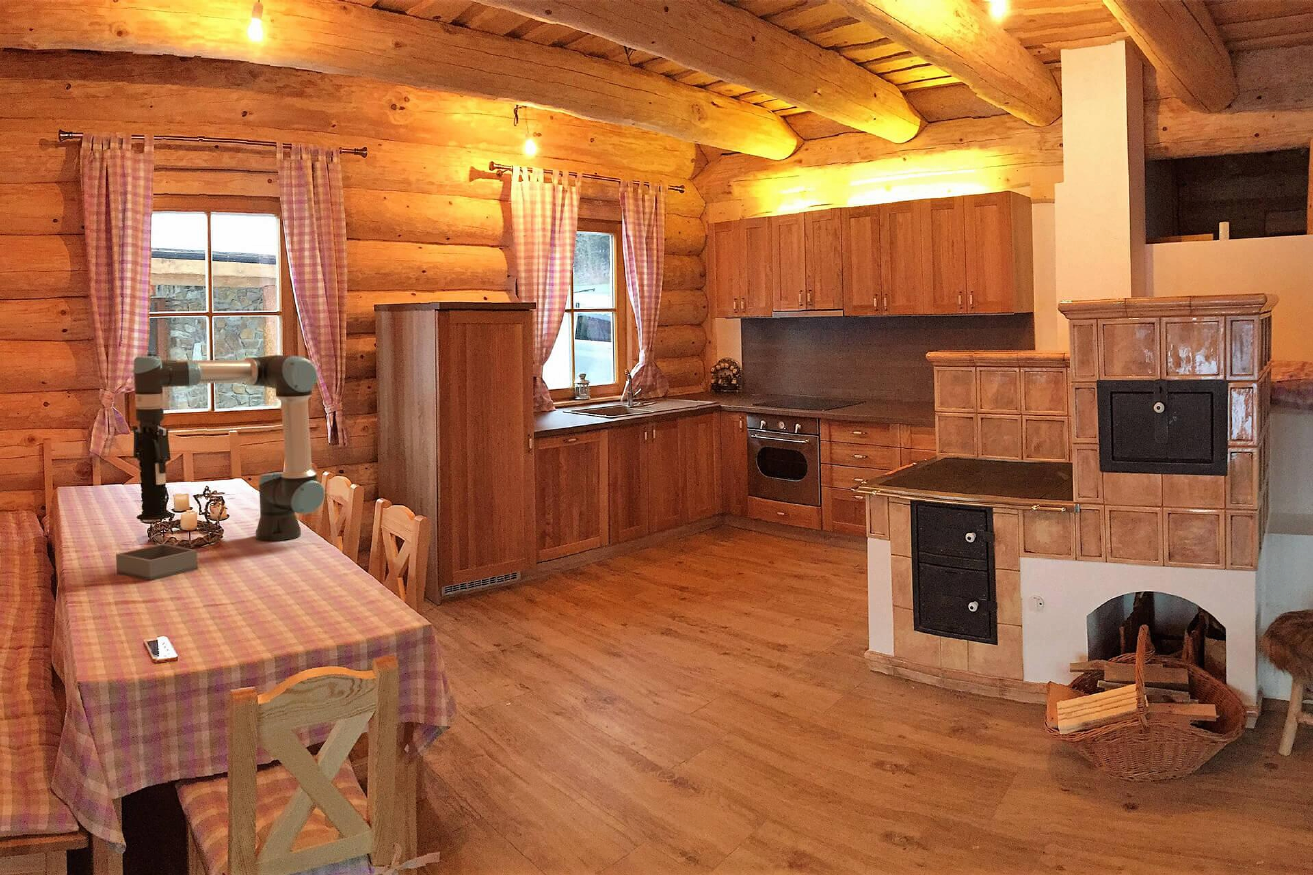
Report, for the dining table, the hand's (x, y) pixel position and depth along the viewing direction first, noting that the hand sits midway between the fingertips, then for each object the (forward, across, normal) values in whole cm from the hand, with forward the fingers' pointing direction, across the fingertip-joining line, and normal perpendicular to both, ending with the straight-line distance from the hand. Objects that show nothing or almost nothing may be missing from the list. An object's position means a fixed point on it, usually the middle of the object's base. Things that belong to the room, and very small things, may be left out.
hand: (153, 482), depth 307 cm
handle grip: (+11, 0, 0) cm, 11 cm away
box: (+28, 0, 0) cm, 28 cm away
